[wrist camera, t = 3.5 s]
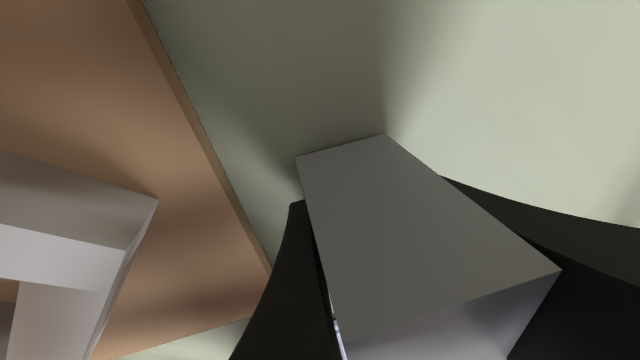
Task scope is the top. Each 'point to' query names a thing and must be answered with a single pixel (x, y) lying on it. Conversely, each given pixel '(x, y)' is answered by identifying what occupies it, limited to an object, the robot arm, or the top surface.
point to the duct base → (109, 191)
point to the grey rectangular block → (416, 258)
